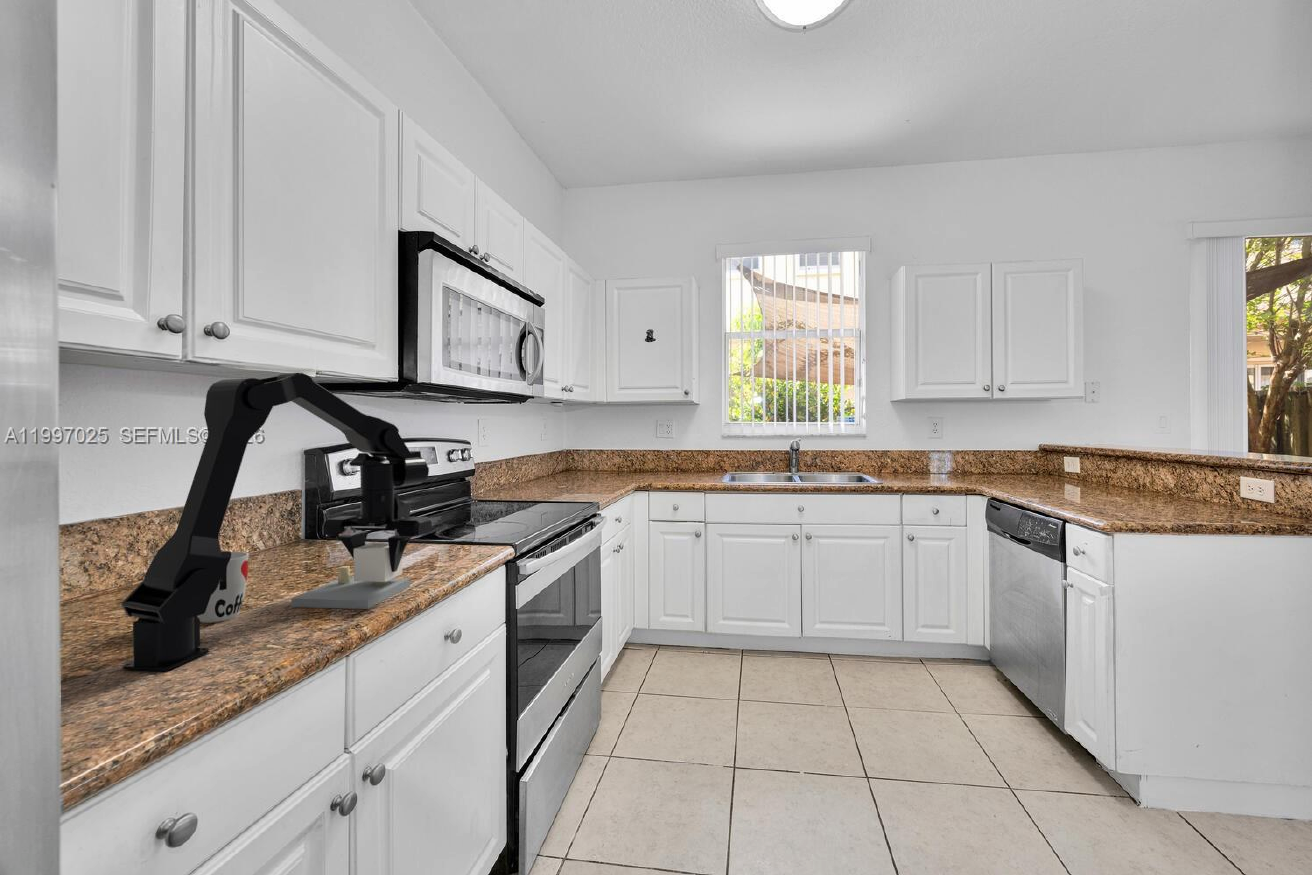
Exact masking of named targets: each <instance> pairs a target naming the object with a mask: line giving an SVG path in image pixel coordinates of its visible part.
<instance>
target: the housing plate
mask: <svg viewBox="0 0 1312 875" xmlns="http://www.w3.org/2000/svg"><path fill="white" fill-rule="evenodd" d="M350 568H351V567H350V566H349V565H344V566H339V567H337V579H334V580H332V581H330V582H328V583H324V584H322V585H320V586H318V587H316V588H313V589H311V590H309V591H306V592H303V593H301V594H299V595H295V596H294V597H291V604H290V605H291V607H292V608H312V609H313V608H317V609H319V608H320V609H349V610H350V609H351V610H352V609H354V610H369V609H371V608H372V607H374V606H376V605H378V604H380V603H382V602H383V601H386V600H387V599H389V598H391V597H393V596H394V595H397V594H398V593H400V592H402V591H404V590H406V589H407V588H409V587H411V578H398V577H397V578H396V577H394V578H392V579H390V580H388V581H386V582H370V581H354V576H353V577H351V572H350V571H351V570H350Z"/></svg>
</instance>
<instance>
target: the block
mask: <svg viewBox="0 0 1312 875" xmlns="http://www.w3.org/2000/svg"><path fill="white" fill-rule="evenodd" d="M402 574H403V557H402V558H401V560H400V563H399V566H398V569H397V571H395V572H392V569H391V565H390V554H389V543H388V542H384V541H383V542H380V541H379V542H378V541H377V542H376V541H375V542H374V541H372V542H369V543H367V544H366V543H365V545H363V546H360V547H357V548H355V549H354V560H353V577H354V581H370V582H386V581H388V580H390V579H392V578H396V577H398V576H400V575H402Z"/></svg>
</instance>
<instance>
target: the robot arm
mask: <svg viewBox="0 0 1312 875" xmlns="http://www.w3.org/2000/svg"><path fill="white" fill-rule="evenodd" d="M290 402H292V403H294V404H296V405H298V406H299V407H301V408H303V409H304V410H306V411H308V412H309V413H311V414H312V415H314V416H316V417H317V418H318V419H321V420H322V421H324V422H326V423H327V424H329V425H330V426H332V427H334V428H336V429H338V430H339V431H341V433H342V434H344V436H345V438H346V440H347V442H348V443H349V444H351V446H352V447H354V448H355V449H356V450H357V451H359V452H360V453H358V454H357V456H356V457H355V458H353V459H352V460H351V461H350V462H349V466H350V467H359V470H360V471H359V472H360V477H359V478H360V495H356V498H355V499H356V502H360V516H358V515H339V516H335V517H331V518H327V519H325V521H324V522H323V524H322V536H336V537H335V538H336V540H338V541H340V542H341V543H342V545H343V546H344V547H345V549H346V550H347V551H348V553H349V554H350V556H351V558H352V560H353V561H354V549H355V548H357V547H360V546H363V545H366V540H367V537H368V534H369V531H377V532H379V531H382V532H383V531H384V532H387V531H388V532H389V531H391V532H392V531H393V532H394V535H392V536H389V537H388V538H387V540H388V541H387V543H389V554H390V565H391V569H392V572H395V571H397V569H398V566H399V563H400V560H401V558H402V559H403V554H404V551H405V550H406V547H407V545H408V543H409V542H410V540H411V539H412V538H414V537H418V536H421V535H424V534H427V533H430V532H432V531H433V528H432V527H433V526H432V525H433V524H432V521H431V519H430V518H429V516H411V509H412V505H410V504H408V503H406V502H404V501H400V499H399V498H400V497H399V493H398V492H395V487H403V486H405V487H406V486H411V485H412V486H413V485H420V484H423V483H424V482H425V481H426V480H427V479H428V477H429V472H430V467H429V466H428V464H427V461H426V460H425V459H424V458H423V457H422V455H421V453H422V452H421V450H409V448H408V447H407V445H406V443H405V441H404V439H403V438H402V436H401V435H400V431H399V428H398V427H397V425H395V424H393V423H392V422H389V421H387V420H384V419H383V418H380V417H376V416H373V415H372V416H371V415H368V414H365V413H363V412H361V411H360V410H358V409H356V408H355V407H353V405H351V404H349V403H348V402H346V401H345V400H343V399H342V398H340V397H338V396H337V395H335V394H334V393H333V392H331V391H330V390H327V389H326V388H325V387H323V386H321V385H320V384H319V383H317V382H316V381H314V380H313V378H312V377H311V376H309V375H308V374H306V373H303V372H289V373H288V372H287V373H286V372H285V373H281V374H279V375H276V376H271V377H267V378H266V377H265V378H255V377H254V378H253V377H252V378H250V377H249V378H231V379H221V380H219V381H216V382H215V383H212V384H211V385H210V387H209V388H208V390H207V392H206V398H205V404H204V405H205V406H204V412H203V414H204V415H203V416H204V420H205V424H206V428H207V437H206V440H205V443H204V446H203V449H202V452H201V455H200V458H199V462H198V464H197V467H196V471H195V473H194V477H193V479H192V483H191V485H190V489H189V491H188V494H187V497H186V500H185V504H184V506H183V509H182V513H181V516H180V518H179V522H178V524H177V527H176V530H175V532H174V533H173V534H172V535H171V536H170V537H169V539H167V541H166V542H164V544H163V545H162V546H161V547H160V548H159V549H158V551H157V552H156V554H155V556H154V557H153V558H152V561H151V563H150V565H149V567H148V568H147V570H146V572H145V574H144V578H143V580H142V581H141V582H140V583H139V585H137V587H135V589H134V590H132V592H130V593H129V594H128V596H127V597H126V598H125V599H124V600H123V601H121V604H120V605H121V607H122V609H123V611H124V612H125V615H126V616H127V617H134V618H138V619H137V620H135V621H133V622H132V643H133V644H132V645H133V646H132V647H133V650H132V652H133V660H132V661H129V662H128V663H125V664H123V665H122V670H130V671H153V672H154V671H156V672H157V671H158V672H161V671H162V672H164V671H170V670H173V669H174V668H177V667H179V666H181V665H183V664H186V663H187V662H190V661H193V660H194V659H196V658H198V657H200V656H203V655H206V654H207V653H210V649H209V647H201V627H200V626H201V625H200V624H201V621H200V619H199V617H198V615H202V614H204V613H205V611H206V609H207V606H208V603H209V600H210V597H211V594H213V593H214V592H215V591H216V589H217V587H218V585H219V583H220V581H225V571H226V567H227V565H228V563H229V561H230V559H231V552H232V551H229V550H222V549H221V543H220V540H219V538H220V532H221V529H222V526H223V523H224V520H225V516H226V514H227V511H228V507H229V504H230V501H231V498H232V493H233V490H234V488H235V485H236V481H237V477H238V475H239V472H240V469H241V466H242V462H243V458H244V456H245V453H246V450H247V446H248V444H249V441H250V440H251V439H252V438H253V436H254V435H255V434H256V433H257V432H258V431H259V430H260V429H261V428H262V427H263V426H264V425H265V423H266V421H267V419H268V417H269V415H270V414H271V412H272V410H273V409H274V407H277V406H279V405H283V404H287V403H290Z"/></svg>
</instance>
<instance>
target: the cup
mask: <svg viewBox="0 0 1312 875" xmlns="http://www.w3.org/2000/svg"><path fill="white" fill-rule="evenodd" d="M230 552H231V559H230V561H229V563H228V565H227V567H226V571H225V581H220V583H219V585H218V587H217V589H216V591H215V592H214V593H213V594H211V597H210V600H209V603H208V606H207V609H206V611H205V613H204V614H202V615H198V617H199V619H200V623H204V624H205V623H206V624H208V623H209V624H211V623H218V622H225V621H228V620H231V619H235V618H236V617H238V616H239V614H240V612H241V609H242V605H243V602H244V600H245V595H246V588H247V584H248V577H249V576H248V575H249V574H248V573H249V555H250V554H249V553H248V552H244V551H230Z"/></svg>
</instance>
